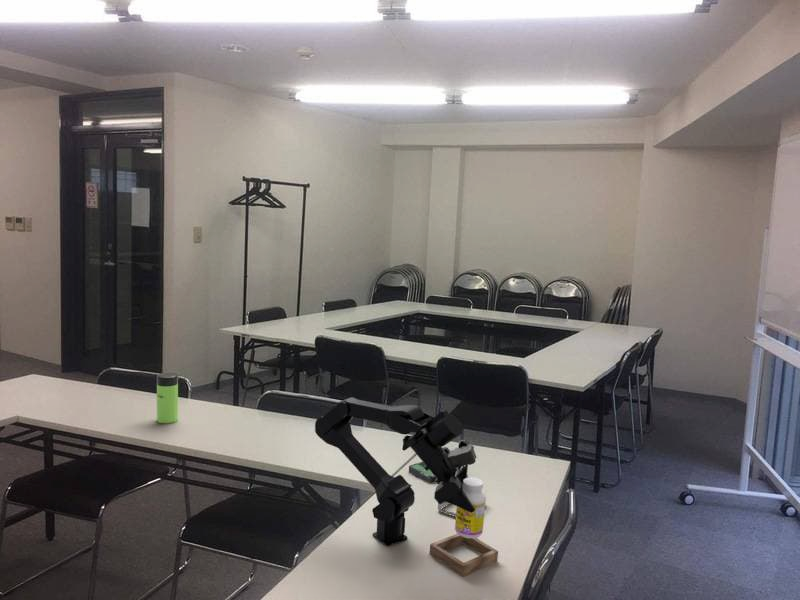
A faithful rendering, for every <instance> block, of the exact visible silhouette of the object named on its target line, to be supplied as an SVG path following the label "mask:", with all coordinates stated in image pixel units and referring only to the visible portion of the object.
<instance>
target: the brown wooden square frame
mask: <svg viewBox="0 0 800 600" xmlns="http://www.w3.org/2000/svg"><path fill="white" fill-rule="evenodd" d="M462 544H465V545H466V546H468V547H469V548H470V549H472V550H474V551H476V552H478V553H479V554H480V555H478V556H477V557H474V558H471V559H469V560H467V561H465V562H464V561H462V560H460V559H459V558H457V557H456V556H454V555H452V554H451V553H449V552H448V550H450V549H452V548H454V547H457V546H460V545H462ZM429 555H431V556H432V557H434V558H435V559H436V560H438V561H439V562H441V563H442V564H444V565H445V566H447V567H448V568H450V569H451V570H452V571H454V572H455V573H457V574H458V575H460V576H461V577H465V576H467V575H470V574H471V573H473V572H476V571H479V570H481V569H483V568H485V567H487V566H489V565H491V564H493V563H496V562H498V558H499V556H498V555H499V551H498V550H497V549H495V548H493V547H492V546H490V545H489V544H487V543H485V542H484V541H482V540H481V539H479V538H478V537H477V538H465V537H462V536H460V535H458V534H457V533H456V534H453V535H450V536H447V537H445V538H442V539H439V540H438V541H435V542H431V543H430V545H429Z"/></svg>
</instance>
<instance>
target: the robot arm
mask: <svg viewBox="0 0 800 600" xmlns="http://www.w3.org/2000/svg"><path fill="white" fill-rule="evenodd" d="M353 418H357V419H361V420H366V421H369V422H374V423H379V424H383V425H384V426H385V425H386V426H387V427H388V429H390V430H391V431H393V432H395V433H398V434H400V435H404V437H403V439H402V450H403V451H406V450H407V449H410V448H411V450H412V451H413V452H414V453H415V454H416V456H417V457H418V458H419V459H420V460H421V462H423V463H424V464H425V467H424V468H425V470H426V471H428V470H430V471H431V472H432V473H433V475H434V476H435V477H436V481H435V482H434V483H436V484H437V486H436V487H435V490H434V495H433V496H434V497H433V498H434V500H435V501H436V502H437V503H439V504H442V503H443V502H448V503H450V505H453V506H455V507H457V506H458V507H460V508H462V509H464V510H466V511H469V512H471V513H472V512H473V511H475V509H474V507H473V505H472V504H471V502H470V500H469V499H468V497H467V496H466V494H465V493H464V491H463V486H464V482H463V480H464V479H465V478H469V476H468V470H469V469H468V468H469V466H470V465H473V464H475V463H476V459H477V455H476V452H475V449H474V448H475V446H474V445H473V444H472V443H469V442H468V441H467V440H466V439H462V440H459V441H458V447H455V448H454V449H452V450H450V449H449V447H447V446H446V445H447V444H449V443H450V442H452V441H453V440H455V439H457V438H458V437H460V436H461V435H462V434H463V426H462V423H461V421H460V420H459V418H457V417H456V416H455V415H454V414H452V413H449V412H448V410H447V409H443V410H441V411H440V412H438V413H437V415H435V416H433V415H431V414H429V413H428V412H425V411H423V410H422V407H420V406H418V405H414V404H413V405H412V404H409V405H406V404H404V405H397V406H396V405H395V406H394V405H393V406H391V405H387V404H382V403H376V402H371V401H367V400H363V399H362V400H361V399H357V398H355V397H348V398H347V399H346V398H345V399H343V400H340V401H339V403H338V404H336V406H334V407H333V408H332V409H331V410H330V411H328V412H327V413H326V414H324V415H322V416H320V417H318V418H317V419H316V420H315V423H314V432H315V434H316V435H317V437H318V438H320V440H322V441H323V442H324V443H326V444H328V445H330V446H332V447H335V448H337V449H338V450H339V451H340V452H341V453H342V454H343V455H344V456H345V458H346V459H348V461H349V462H350V463H351V464H352V465H353V466H354V467H355V468H356V469H357V471H358V472H359V473H360V474H361V475H362V477H363V478H364V479H365V480H366V481H367V483H369V484H370V485H371V486H372V488H373V489H374V491H375V495H376V496H375V497H376V500H377V502H378V504H377V505H376V506H374V507H373V508H372V510H371V512H372V515H373V518H374V519H377V521H376V532H372V536H373V537H374V538H375V539H376V540H378V541H379V542H381V543H382V544H384V545H385V546H387V547H389V546H393V545H394V544H398V543H400V542H403V541H406V540H408V536H407V534H405V533H406V532H405V530H406V529H405V528H406V518H405V512H408V511H409V509H410V508H411V507H412V506H413V505H414V503H415V499H416V497H415V495H416V494H415V491H414V490H413V488H412V487H413V486H412V484H411V483H409V482H408V481H407V480H406V479H405V477H404V476H403V475H401V474H398V475H396V476H393V475H391V474H389V473H388V472H387V471H386V469H384V467H382V465H381V464H380V463H379V462H378V461H377V460H376V458H374V457H373V456H372V454H371V453H370V452H369V451H368V450H367V449H366V448H365V447H364V445H362V443H360V441H359V440H357V438H356V437H355V436H354V434H353V429H352V427H351V426H352V425H351V423H350V422H351V421H352V419H353ZM410 433H414V434H412V435H408V434H410ZM462 466H464V467H462Z"/></svg>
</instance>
